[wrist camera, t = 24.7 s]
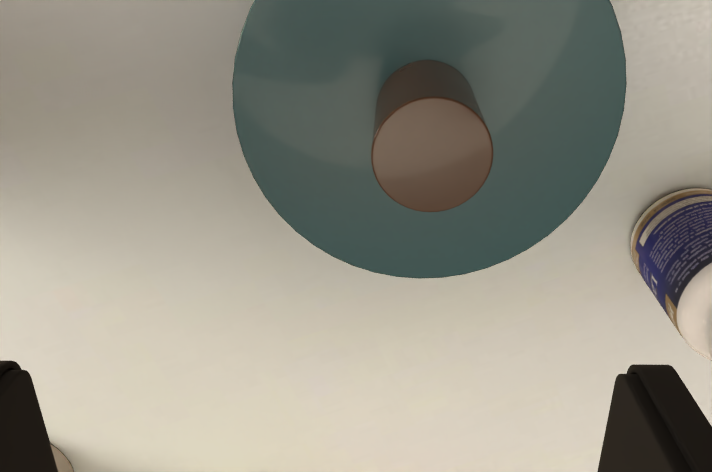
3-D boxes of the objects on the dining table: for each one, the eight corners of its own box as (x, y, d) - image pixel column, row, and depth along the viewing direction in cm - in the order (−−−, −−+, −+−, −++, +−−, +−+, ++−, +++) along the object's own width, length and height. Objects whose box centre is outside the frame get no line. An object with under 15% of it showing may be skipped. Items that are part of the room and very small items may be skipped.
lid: (163, 100, 27) (98, 153, 21) (435, -216, 22) (449, -263, 16) (416, 324, 31) (420, 421, 25) (696, 103, 26) (784, 160, 20)
